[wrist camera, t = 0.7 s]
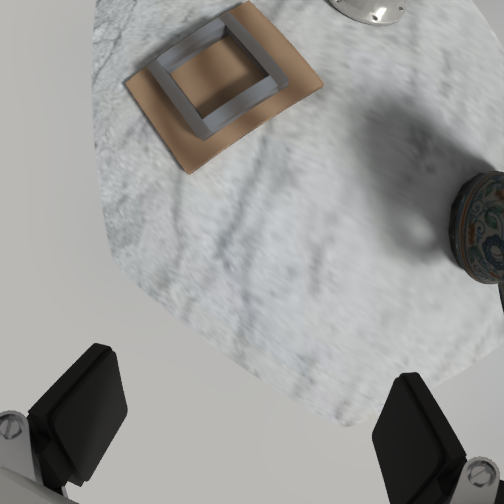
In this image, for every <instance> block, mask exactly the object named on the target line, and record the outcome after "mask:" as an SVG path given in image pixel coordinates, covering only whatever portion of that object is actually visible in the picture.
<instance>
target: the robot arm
mask: <svg viewBox="0 0 504 504" xmlns="http://www.w3.org/2000/svg"><path fill="white" fill-rule="evenodd" d="M329 1H330V2H331V3H332V5H333V6H334V7H335V8H337V9H338V10H339V11H340V12H342V13H343V14H345V15H347V16H348V17H350V18H352V19H354V20H357V21H360V22H362V23H366V24H370V25H378V26H383V25H390V24H393V23H395V22H397V21H399V20H400V19H401V18H402V16H403V15H404V14H405V11H406V0H329ZM28 413H29V415H28V416H27V417H25V416H24V415H23V414H21V413H20V412H17V411H4V412H2V413H0V504H79V503H76V502H74V501H72V500H70V499H68V495H67V492H66V488H65V485H66V483H67V481H69V482H71V483H73V484H75V485H78V486H80V487H81V486H82V484H83V482H84V481H89V479H90V478H91V476H92V475H93V473H94V471H95V469H96V467H97V465H98V464H99V462H100V460H101V459H102V457H103V455H104V453H105V452H106V450H107V448H108V447H109V445H110V443H111V441H112V440H113V438H114V436H115V435H116V433H117V431H118V429H119V428H120V426H121V424H122V423H123V421H124V419H125V417H126V416H127V404H126V400H125V396H124V391H123V386H122V382H121V377H120V372H119V367H118V361H117V356H116V353H115V352H114V351H112V348H111V347H110V346H106V345H102V344H98V343H94V344H93V345H92V346H91V347H90V348H89V349H88V350H87V351H86V352H85V353H84V354H83V355H82V356H81V357H80V358H79V359H78V360H77V361H76V362H75V363H74V364H73V365H72V366H71V367H70V368H69V369H68V370H67V371H66V372H65V373H64V374H63V375H62V376H61V377H60V378H59V379H58V380H57V381H56V382H55V383H54V385H52V386H51V387H50V388H49V390H48V391H47V392H46V393H45V394H44V395H43V396H42V397H41V398H40V399H39V400H38V401H37V402H36V403H35V404H34V405H33V406H32V408H31V409H30V410H29V411H28ZM372 441H373V444H374V448H375V451H376V455H377V458H378V462H379V465H380V468H381V472H382V476H383V479H384V482H385V487H386V490H387V494H388V498H389V502H390V504H504V481H502V480H500V472H499V468H498V467H497V465H496V464H495V463H494V462H493V461H492V460H490V459H488V458H486V457H474V458H472V459H470V460H469V461H467V459H466V453H465V451H464V449H463V447H462V445H461V443H460V442H459V440H458V438H457V436H456V434H455V433H454V431H453V429H452V427H451V426H450V424H449V422H448V420H447V419H446V417H445V415H444V414H443V412H442V410H441V409H440V407H439V405H438V404H437V402H436V400H435V399H434V397H433V395H432V394H431V392H430V391H429V389H428V387H427V386H426V384H425V383H424V381H423V379H422V378H421V376H420V375H419V374H418V373H417V372H412V373H402V374H400V376H399V377H397V378H396V379H395V380H394V382H393V385H392V387H391V390H390V393H389V395H388V398H387V400H386V402H385V405H384V407H383V410H382V412H381V414H380V416H379V419H378V421H377V423H376V426H375V428H374V430H373V432H372Z"/></svg>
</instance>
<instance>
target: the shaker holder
mask: <svg viewBox="0 0 504 504" xmlns="http://www.w3.org/2000/svg"><path fill="white" fill-rule="evenodd" d="M125 84H126V86H127V87H128V89H129V90H130V92H131V93H132V95H133V96H134V97H135V99H136V100H137V102H138V103H139V105H140V106H141V108H142V109H143V111H144V112H145V114H146V115H147V116H148V118H149V119H150V121H151V122H152V124H153V125H154V127H155V128H156V130H157V131H158V133H159V134H160V135H161V137H162V138H163V140H164V141H165V143H166V144H167V146H168V147H169V149H170V150H171V151H172V153H173V154H174V156H175V157H176V159H177V160H178V162H179V163H180V164H181V166H182V167H183V169H184V170H185V172H186V173H187V174H192V173H193V172H194V171H196V170H197V169H198V168H200V167H201V166H202V165H204V164H205V163H206V162H208V161H209V160H211V159H212V158H213V157H215V156H216V155H218V154H219V153H220V152H222V151H223V150H225V149H226V148H227V147H229V146H230V145H232V144H233V143H235V142H236V141H238V140H239V139H241V138H242V137H243V136H245V135H246V134H248V133H249V132H251V131H252V130H254V129H255V128H257V127H258V126H260V125H262V124H263V123H265V122H266V121H268V120H269V119H271V118H272V117H274V116H276V115H277V114H279V113H280V112H282V111H284V110H285V109H287V108H288V107H290V106H292V105H293V104H295V103H297V102H298V101H300V100H302V99H303V98H305V97H307V96H309V95H310V94H312V93H314V92H315V91H317V90H319V89H321V88H322V87H323V86H324V83H323V82H322V80H321V79H320V78H319V76H318V75H317V74H316V73H315V71H314V70H313V69H312V68H311V67H310V65H309V64H308V63H307V62H306V61H305V59H304V58H303V57H302V56H301V55H300V53H299V52H298V51H297V50H296V49H295V48H294V47H293V45H292V44H291V43H290V42H289V41H288V40H287V39H286V38H285V37H284V35H283V34H282V33H281V32H280V31H279V30H278V29H277V28H276V27H275V26H274V25H273V24H272V23H271V22H270V21H269V20H268V19H267V18H266V17H265V16H264V15H263V14H262V13H261V12H260V11H259V10H258V9H257V8H256V7H255V6H254V5H253V4H252V3H251V2H250V1H247V2H245V3H243V4H241V5H239V6H237V7H236V8H234V9H232V10H230V11H228V12H226V13H225V14H223V15H221V16H219V17H218V18H216V19H214V20H213V21H211V22H209V23H208V24H206V25H204V26H203V27H201V28H199V29H198V30H196V31H195V32H193V33H192V34H190V35H189V36H187V37H186V38H184V39H183V40H181V41H180V42H178V43H177V44H175V45H174V46H172V47H171V48H170V49H168V50H167V51H165V52H164V53H163V54H161V55H160V56H159V57H157V58H156V59H155V60H153V61H152V62H151V63H149V64H148V65H147V66H146V67H144V68H143V69H142V70H141V71H139V72H138V73H137V74H136V75H134V76H133V77H132V78H131V79H130V80H128V81H127V82H126V83H125Z"/></svg>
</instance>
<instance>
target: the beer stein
mask: <svg viewBox="0 0 504 504" xmlns="http://www.w3.org/2000/svg"><path fill="white" fill-rule="evenodd" d="M448 231H449V237H450V244H451V250H452V252H453V254H454V256H455V258H456V260H457V262H458V265H459V266H461V267H462V268H463V269H464V270H465V271H466V272H467V274H468V275H469V276H470V277H471V278H473V279H474V280H476V281H478V282H480V283H483V284H497V283H498V287H499V293H500V299H501V304H502V308H503V312H504V172H499V171H492V172H488V173H479V174H477V175H476V176H475V177H473V178H472V179H471V180H469V181H468V182H466V183H465V184H464V185H462V187H461V189H460V191H459V193H458V195H457V197H456V199H455V201H454V203H453V204H452V208H451V216H450V223H449V230H448Z"/></svg>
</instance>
